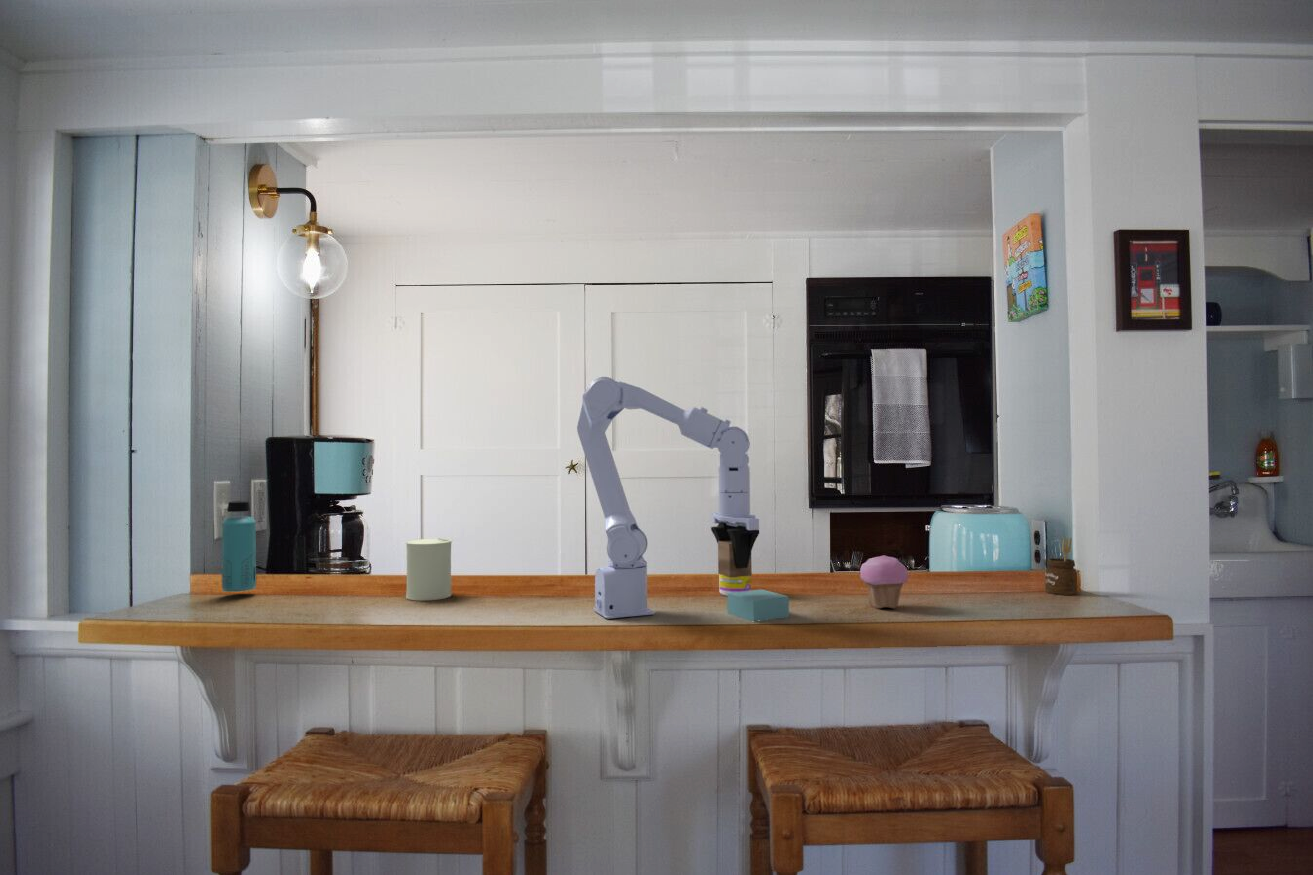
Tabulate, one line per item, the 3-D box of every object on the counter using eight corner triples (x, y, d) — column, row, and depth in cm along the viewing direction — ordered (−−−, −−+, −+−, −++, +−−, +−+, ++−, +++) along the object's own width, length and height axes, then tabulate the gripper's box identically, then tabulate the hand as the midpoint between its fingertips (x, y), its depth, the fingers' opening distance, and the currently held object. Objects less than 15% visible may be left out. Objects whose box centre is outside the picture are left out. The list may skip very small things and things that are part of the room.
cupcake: (902, 603, 145) (901, 552, 145) (913, 613, 136) (913, 559, 137) (856, 602, 146) (855, 552, 146) (864, 612, 137) (864, 558, 137)
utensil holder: (1069, 590, 158) (1068, 534, 158) (1083, 596, 152) (1082, 538, 152) (1040, 590, 158) (1039, 534, 159) (1053, 595, 152) (1052, 537, 152)
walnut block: (729, 577, 132) (729, 543, 132) (718, 573, 136) (717, 541, 136) (751, 575, 134) (751, 542, 134) (739, 571, 138) (739, 539, 138)
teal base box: (753, 623, 130) (753, 600, 130) (727, 614, 137) (727, 593, 137) (788, 618, 134) (788, 596, 134) (761, 610, 141) (761, 589, 141)
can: (455, 598, 151) (455, 540, 152) (409, 602, 147) (409, 542, 148) (447, 590, 160) (447, 535, 160) (403, 594, 156) (403, 537, 156)
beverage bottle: (259, 596, 154) (259, 500, 154) (222, 600, 150) (223, 502, 150) (254, 591, 159) (254, 499, 159) (218, 595, 155) (219, 500, 155)
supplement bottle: (749, 597, 151) (749, 535, 151) (717, 596, 152) (717, 534, 153) (751, 591, 158) (751, 531, 158) (721, 590, 159) (720, 531, 159)
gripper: (773, 493, 130) (774, 570, 130) (734, 489, 143) (735, 559, 143) (738, 494, 127) (739, 572, 127) (702, 490, 141) (703, 561, 140)
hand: (735, 565), depth 135 cm, fingers closed on walnut block, 4 cm apart
